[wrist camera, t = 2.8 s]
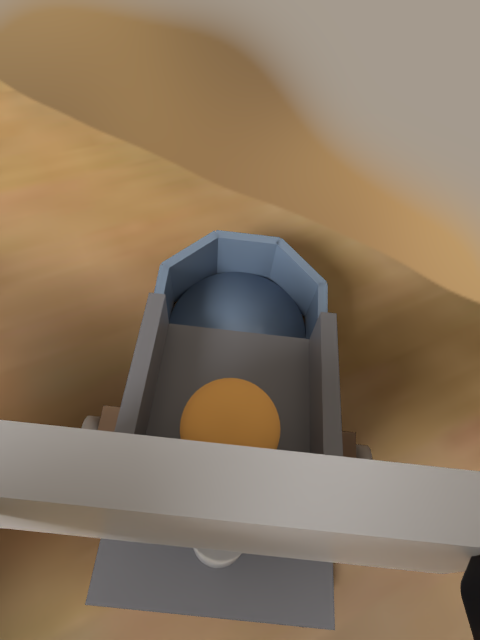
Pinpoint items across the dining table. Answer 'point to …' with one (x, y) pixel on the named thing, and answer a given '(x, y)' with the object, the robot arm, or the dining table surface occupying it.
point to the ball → (231, 415)
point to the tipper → (232, 487)
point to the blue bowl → (243, 286)
